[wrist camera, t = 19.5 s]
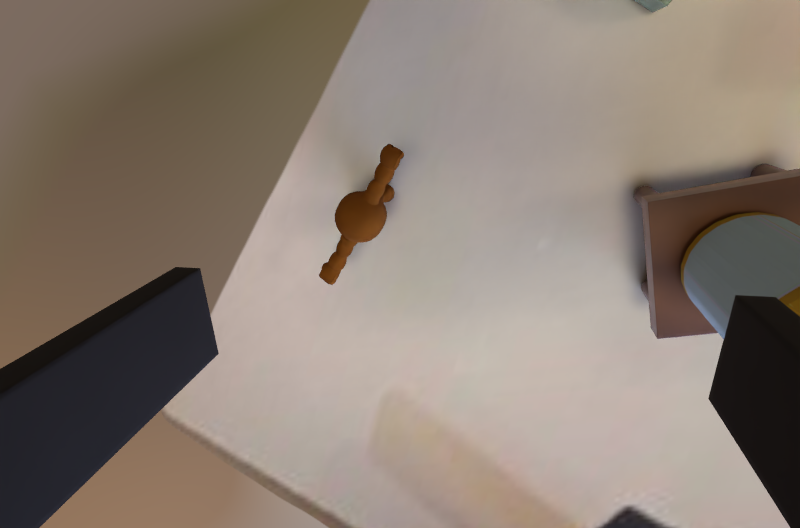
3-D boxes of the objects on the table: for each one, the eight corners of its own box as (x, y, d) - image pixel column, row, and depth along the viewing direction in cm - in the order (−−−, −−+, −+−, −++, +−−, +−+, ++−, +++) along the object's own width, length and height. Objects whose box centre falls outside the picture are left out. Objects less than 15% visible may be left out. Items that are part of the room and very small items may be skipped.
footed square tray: (625, 182, 34) (647, 202, 29) (782, 153, 32) (840, 169, 26) (635, 301, 38) (657, 339, 32) (778, 284, 35) (829, 322, 29)
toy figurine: (391, 125, 36) (367, 135, 30) (431, 149, 36) (416, 164, 30) (329, 245, 41) (299, 274, 35) (364, 266, 41) (340, 299, 35)
